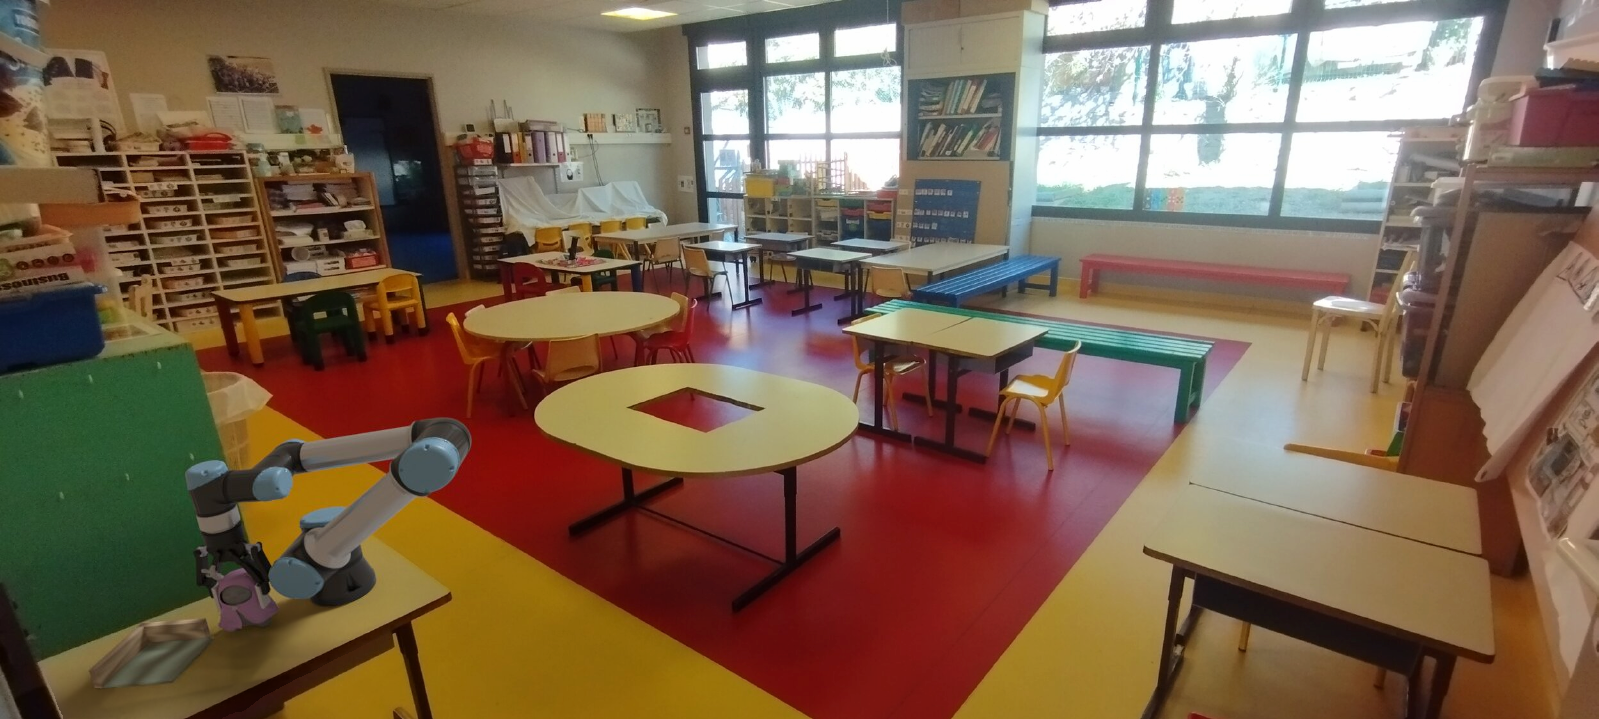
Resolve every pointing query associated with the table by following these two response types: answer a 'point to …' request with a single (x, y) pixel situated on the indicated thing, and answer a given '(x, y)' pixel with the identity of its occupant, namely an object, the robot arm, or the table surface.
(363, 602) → the table surface
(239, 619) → the toy character
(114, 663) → the tray
